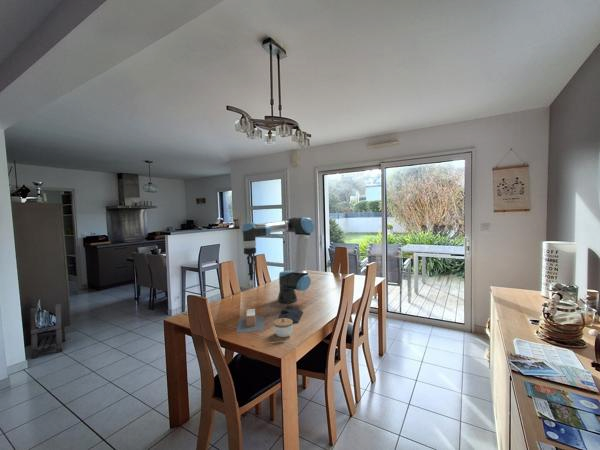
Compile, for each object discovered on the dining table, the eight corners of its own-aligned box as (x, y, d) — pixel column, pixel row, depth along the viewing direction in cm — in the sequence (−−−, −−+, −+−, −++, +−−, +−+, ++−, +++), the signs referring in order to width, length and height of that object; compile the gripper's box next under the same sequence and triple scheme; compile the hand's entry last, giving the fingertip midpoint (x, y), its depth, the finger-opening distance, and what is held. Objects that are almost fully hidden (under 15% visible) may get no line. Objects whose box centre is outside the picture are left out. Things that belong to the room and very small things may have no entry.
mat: (263, 317, 176) (263, 316, 176) (264, 331, 154) (264, 330, 154) (238, 319, 174) (238, 318, 174) (236, 333, 152) (236, 332, 152)
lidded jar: (273, 332, 153) (273, 315, 153) (292, 330, 154) (292, 314, 154) (273, 340, 142) (273, 323, 142) (293, 339, 143) (293, 321, 143)
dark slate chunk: (274, 323, 166) (273, 316, 166) (282, 311, 188) (282, 304, 188) (298, 324, 163) (298, 317, 163) (304, 311, 185) (303, 305, 185)
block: (255, 325, 162) (255, 318, 173) (254, 315, 161) (255, 308, 173) (246, 326, 161) (247, 318, 173) (246, 316, 161) (247, 309, 172)
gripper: (243, 246, 174) (245, 282, 175) (243, 249, 161) (245, 288, 162) (255, 245, 175) (257, 281, 176) (256, 248, 162) (258, 286, 163)
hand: (251, 284), depth 169 cm, fingers closed
